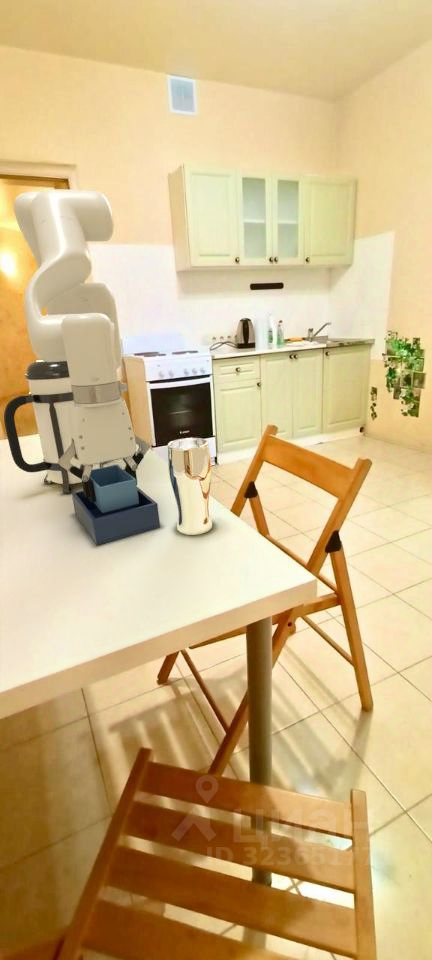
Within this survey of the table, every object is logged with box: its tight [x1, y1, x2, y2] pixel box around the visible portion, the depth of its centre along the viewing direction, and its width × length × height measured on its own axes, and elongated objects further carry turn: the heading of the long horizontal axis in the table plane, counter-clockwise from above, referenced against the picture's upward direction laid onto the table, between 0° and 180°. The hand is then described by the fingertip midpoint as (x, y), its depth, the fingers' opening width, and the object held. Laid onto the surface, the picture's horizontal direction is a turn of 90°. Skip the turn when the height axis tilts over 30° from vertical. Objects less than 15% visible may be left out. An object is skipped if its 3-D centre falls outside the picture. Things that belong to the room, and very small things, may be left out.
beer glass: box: [167, 437, 213, 536], centre depth 74 cm, size 7×7×15 cm
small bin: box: [90, 463, 139, 513], centre depth 79 cm, size 10×6×4 cm, turn 30°
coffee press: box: [3, 359, 104, 494], centre depth 96 cm, size 17×16×30 cm
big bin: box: [71, 486, 161, 546], centre depth 81 cm, size 15×11×4 cm
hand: (112, 494), depth 79 cm, fingers closed on small bin, 6 cm apart
